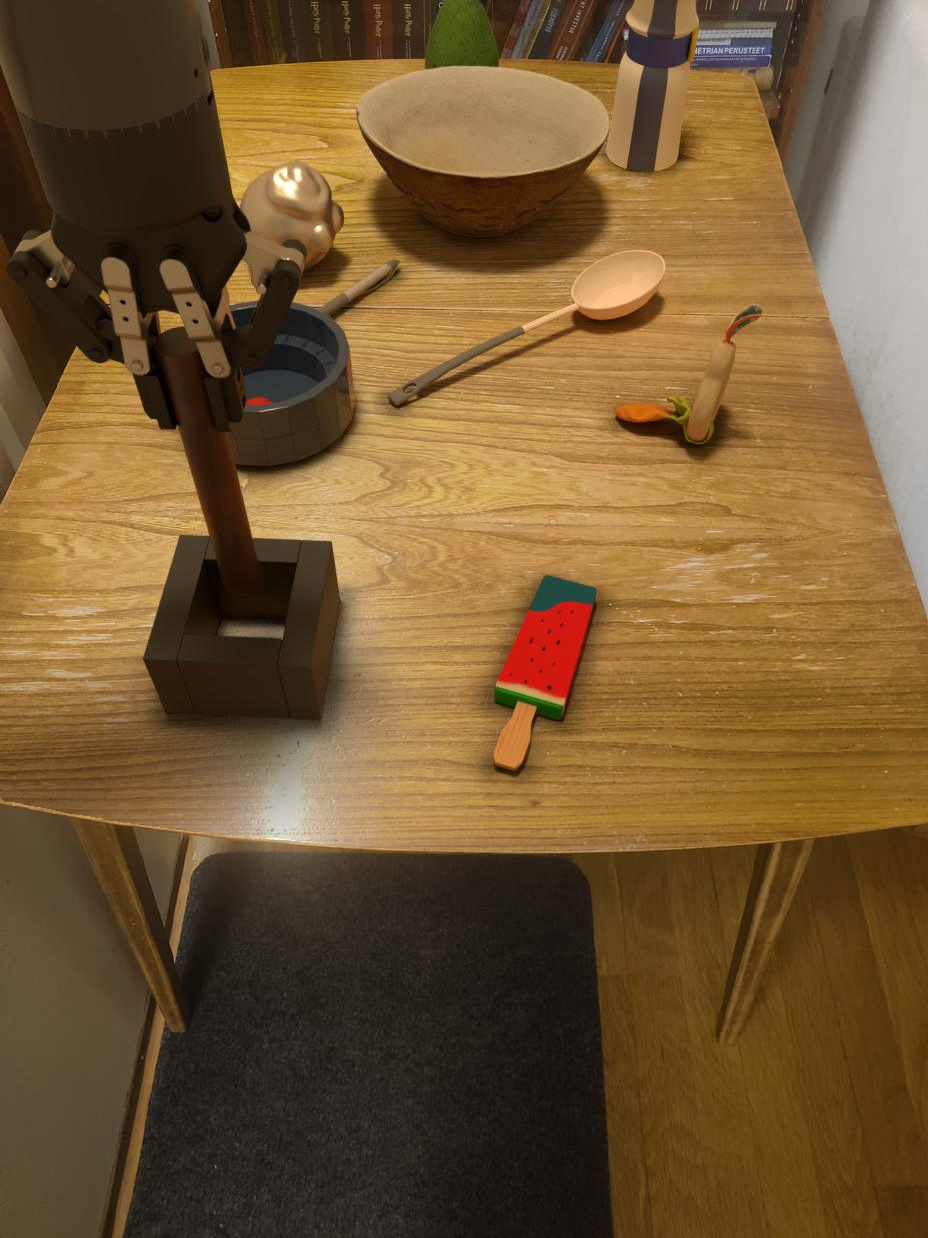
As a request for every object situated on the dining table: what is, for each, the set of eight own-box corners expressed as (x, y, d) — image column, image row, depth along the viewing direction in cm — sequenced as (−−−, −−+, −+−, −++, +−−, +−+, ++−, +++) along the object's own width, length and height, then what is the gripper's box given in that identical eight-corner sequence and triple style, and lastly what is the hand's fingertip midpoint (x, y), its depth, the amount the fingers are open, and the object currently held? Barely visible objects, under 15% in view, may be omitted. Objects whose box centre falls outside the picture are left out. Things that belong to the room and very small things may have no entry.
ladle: (680, 300, 90) (684, 257, 86) (418, 456, 84) (409, 417, 80) (637, 265, 93) (638, 222, 89) (381, 413, 87) (370, 374, 83)
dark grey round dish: (169, 468, 78) (151, 408, 73) (205, 357, 86) (190, 297, 81) (344, 474, 77) (337, 414, 73) (363, 363, 86) (357, 302, 81)
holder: (165, 713, 64) (142, 659, 59) (198, 592, 70) (179, 534, 65) (321, 720, 64) (310, 666, 59) (340, 598, 70) (332, 540, 65)
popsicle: (469, 749, 61) (539, 572, 70) (469, 761, 62) (538, 585, 71) (541, 771, 60) (603, 588, 69) (539, 783, 61) (600, 602, 70)
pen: (403, 270, 94) (402, 257, 93) (301, 343, 87) (299, 329, 86) (395, 266, 95) (394, 253, 93) (292, 338, 88) (290, 325, 87)
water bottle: (682, 136, 110) (732, -140, 90) (680, 175, 105) (733, -108, 85) (607, 129, 111) (640, -145, 91) (602, 169, 106) (636, -114, 86)
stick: (219, 594, 62) (149, 355, 48) (227, 565, 63) (160, 324, 49) (258, 596, 62) (199, 357, 48) (265, 566, 63) (209, 326, 49)
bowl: (489, 125, 111) (491, 28, 103) (648, 215, 100) (664, 114, 92) (316, 199, 102) (305, 98, 94) (471, 307, 91) (473, 203, 83)
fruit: (466, 84, 117) (467, -32, 108) (511, 109, 114) (516, -8, 104) (412, 104, 114) (408, -13, 105) (456, 131, 110) (456, 12, 101)
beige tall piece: (659, 376, 85) (684, 254, 76) (743, 418, 82) (779, 296, 73) (608, 420, 81) (627, 298, 72) (694, 466, 78) (725, 345, 69)
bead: (245, 406, 80) (240, 444, 79) (237, 388, 77) (232, 426, 76) (285, 409, 80) (280, 447, 79) (279, 391, 77) (274, 430, 76)
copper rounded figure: (277, 305, 91) (260, 201, 83) (231, 255, 95) (211, 152, 87) (363, 274, 94) (355, 170, 86) (315, 227, 98) (303, 125, 91)
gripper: (-107, 116, 36) (47, 465, 50) (274, 127, 36) (324, 476, 50) (-34, 27, 41) (89, 370, 55) (304, 36, 41) (342, 378, 54)
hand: (200, 419), depth 52 cm, fingers closed on stick, 2 cm apart
